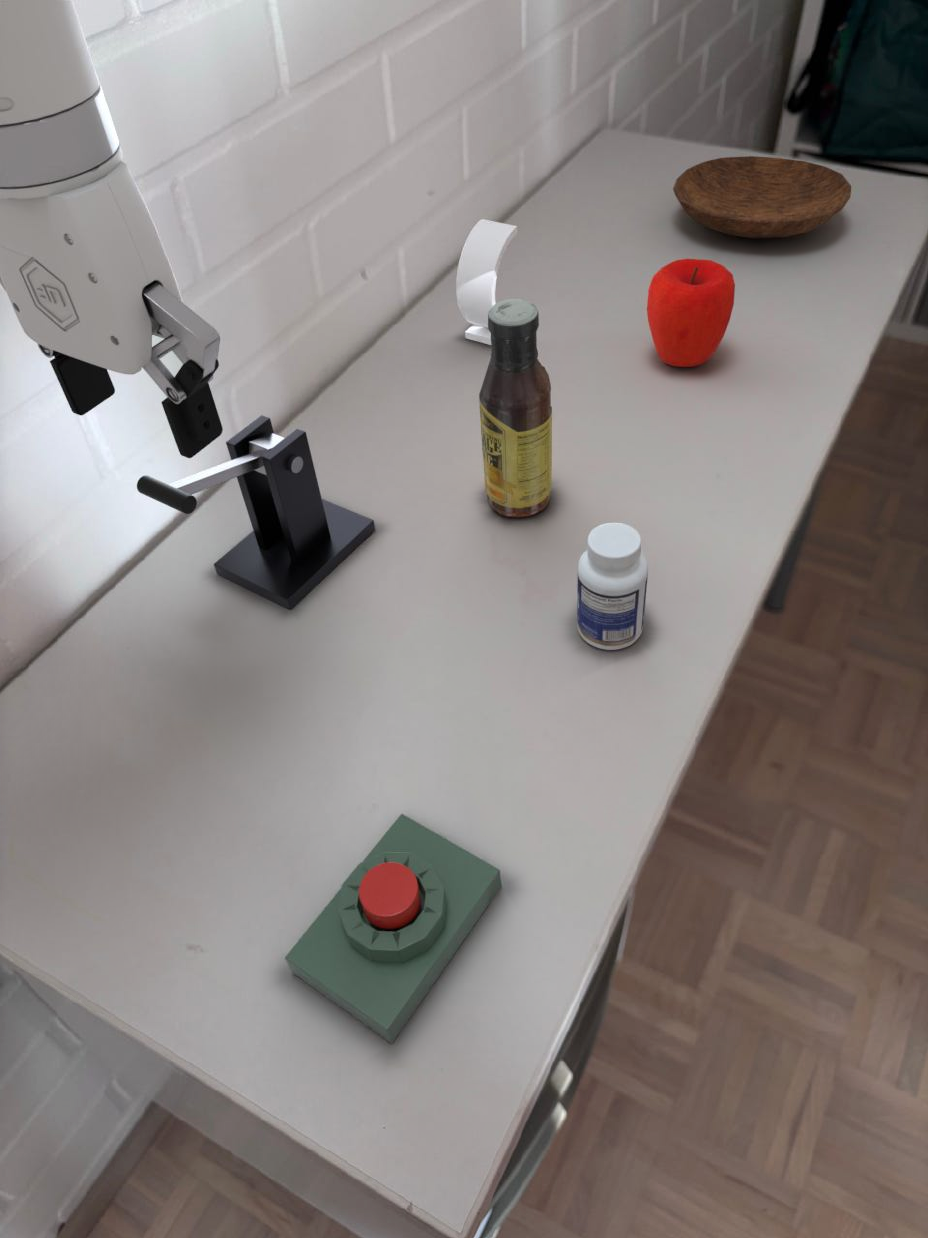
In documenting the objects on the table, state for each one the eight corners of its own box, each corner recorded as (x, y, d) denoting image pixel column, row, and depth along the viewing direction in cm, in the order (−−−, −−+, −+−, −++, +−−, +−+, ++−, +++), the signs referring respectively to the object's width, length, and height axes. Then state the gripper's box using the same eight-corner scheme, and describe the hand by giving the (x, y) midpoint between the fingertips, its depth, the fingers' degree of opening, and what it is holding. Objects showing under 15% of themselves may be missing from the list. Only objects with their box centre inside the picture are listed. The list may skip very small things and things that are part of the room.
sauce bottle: (482, 484, 92) (467, 292, 77) (546, 475, 92) (543, 282, 77) (491, 528, 87) (476, 333, 73) (558, 519, 87) (557, 323, 73)
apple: (665, 391, 100) (674, 295, 92) (629, 351, 106) (634, 258, 98) (740, 371, 101) (755, 275, 94) (700, 332, 107) (711, 239, 99)
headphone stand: (521, 326, 111) (517, 226, 102) (494, 351, 108) (488, 249, 99) (487, 318, 113) (481, 218, 104) (460, 342, 110) (451, 241, 101)
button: (397, 940, 57) (393, 927, 55) (351, 910, 58) (346, 897, 57) (432, 893, 59) (429, 880, 57) (386, 865, 60) (383, 851, 59)
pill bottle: (597, 595, 80) (600, 507, 73) (654, 619, 78) (663, 530, 71) (564, 635, 77) (564, 547, 70) (622, 662, 75) (628, 573, 68)
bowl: (826, 270, 115) (835, 229, 111) (651, 247, 122) (653, 208, 119) (856, 202, 126) (864, 164, 123) (694, 185, 134) (697, 148, 130)
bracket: (290, 610, 82) (255, 494, 72) (216, 573, 86) (174, 459, 76) (375, 529, 88) (353, 414, 79) (303, 499, 92) (274, 385, 83)
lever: (183, 522, 70) (181, 493, 69) (137, 501, 72) (135, 472, 71) (304, 471, 80) (304, 445, 78) (261, 454, 82) (260, 428, 80)
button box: (392, 1044, 56) (382, 1018, 53) (291, 972, 60) (277, 944, 57) (501, 886, 63) (498, 855, 60) (405, 829, 66) (398, 798, 63)
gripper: (-128, 141, 49) (12, 418, 61) (97, 197, 42) (204, 498, 54) (-9, 92, 53) (99, 362, 65) (214, 135, 46) (289, 429, 58)
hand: (147, 423), depth 60 cm, fingers open, 9 cm apart
